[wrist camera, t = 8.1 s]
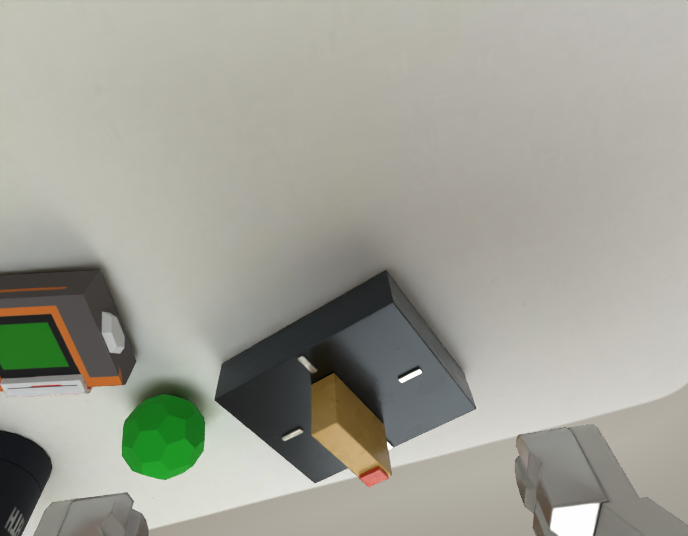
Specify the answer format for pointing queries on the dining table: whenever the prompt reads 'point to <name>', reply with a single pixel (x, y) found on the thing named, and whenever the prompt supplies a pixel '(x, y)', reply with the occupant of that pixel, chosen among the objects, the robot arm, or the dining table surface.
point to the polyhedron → (163, 436)
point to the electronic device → (60, 335)
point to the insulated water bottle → (20, 481)
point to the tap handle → (349, 430)
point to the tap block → (346, 374)
